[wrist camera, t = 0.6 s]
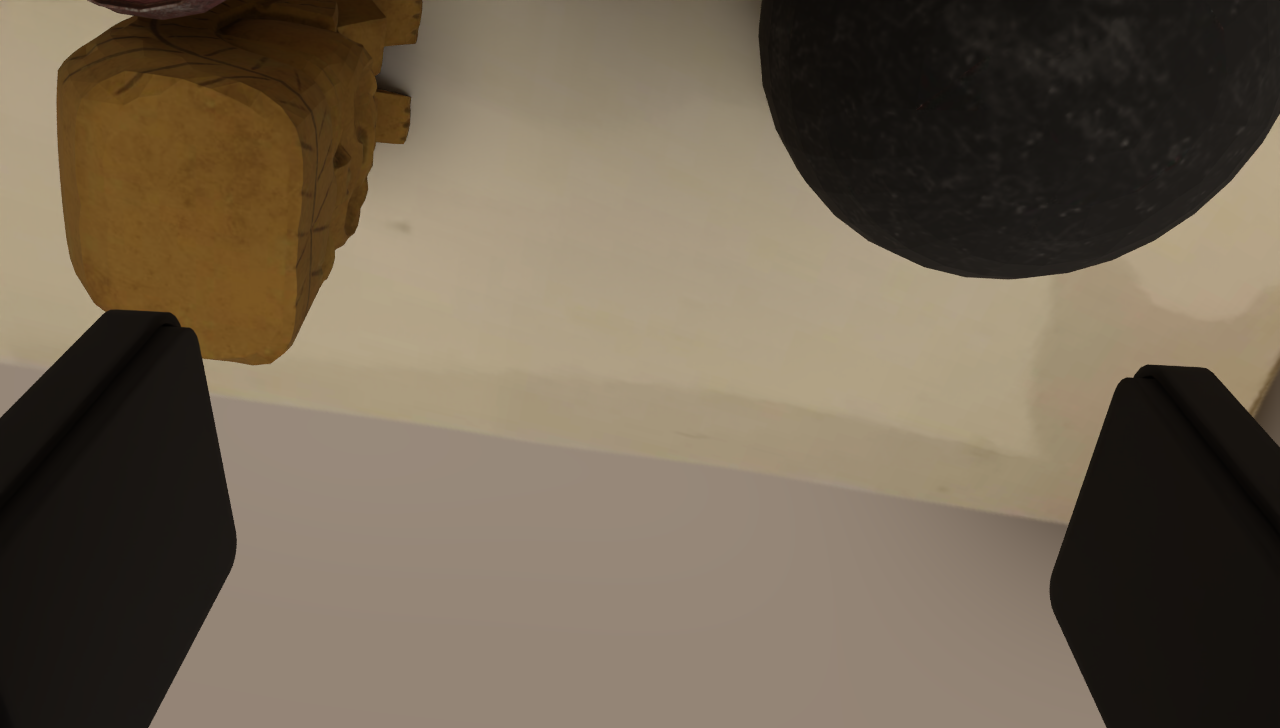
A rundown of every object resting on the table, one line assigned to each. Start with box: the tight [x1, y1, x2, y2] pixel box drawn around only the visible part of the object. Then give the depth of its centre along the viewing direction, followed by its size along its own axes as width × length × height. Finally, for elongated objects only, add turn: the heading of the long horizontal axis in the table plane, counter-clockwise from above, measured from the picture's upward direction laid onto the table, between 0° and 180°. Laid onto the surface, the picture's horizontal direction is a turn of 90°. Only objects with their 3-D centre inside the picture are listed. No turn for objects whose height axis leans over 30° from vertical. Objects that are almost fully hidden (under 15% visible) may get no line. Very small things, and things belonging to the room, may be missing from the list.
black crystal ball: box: [759, 0, 1280, 279], centre depth 27 cm, size 13×13×15 cm
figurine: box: [57, 0, 422, 365], centre depth 29 cm, size 7×6×15 cm
